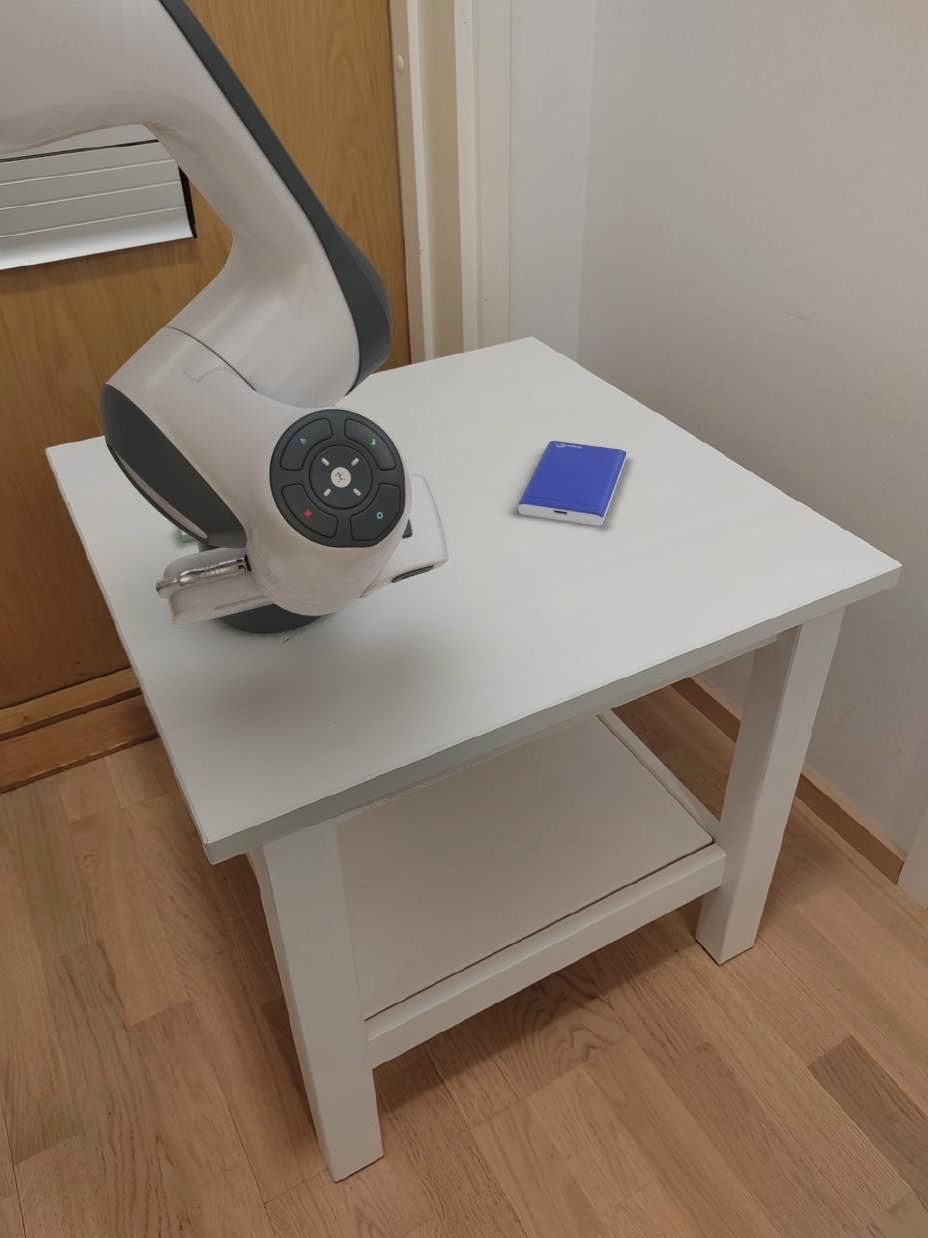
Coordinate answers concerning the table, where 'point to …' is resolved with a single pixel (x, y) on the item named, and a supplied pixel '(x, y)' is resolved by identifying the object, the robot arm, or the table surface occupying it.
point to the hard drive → (573, 483)
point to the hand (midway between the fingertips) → (301, 583)
